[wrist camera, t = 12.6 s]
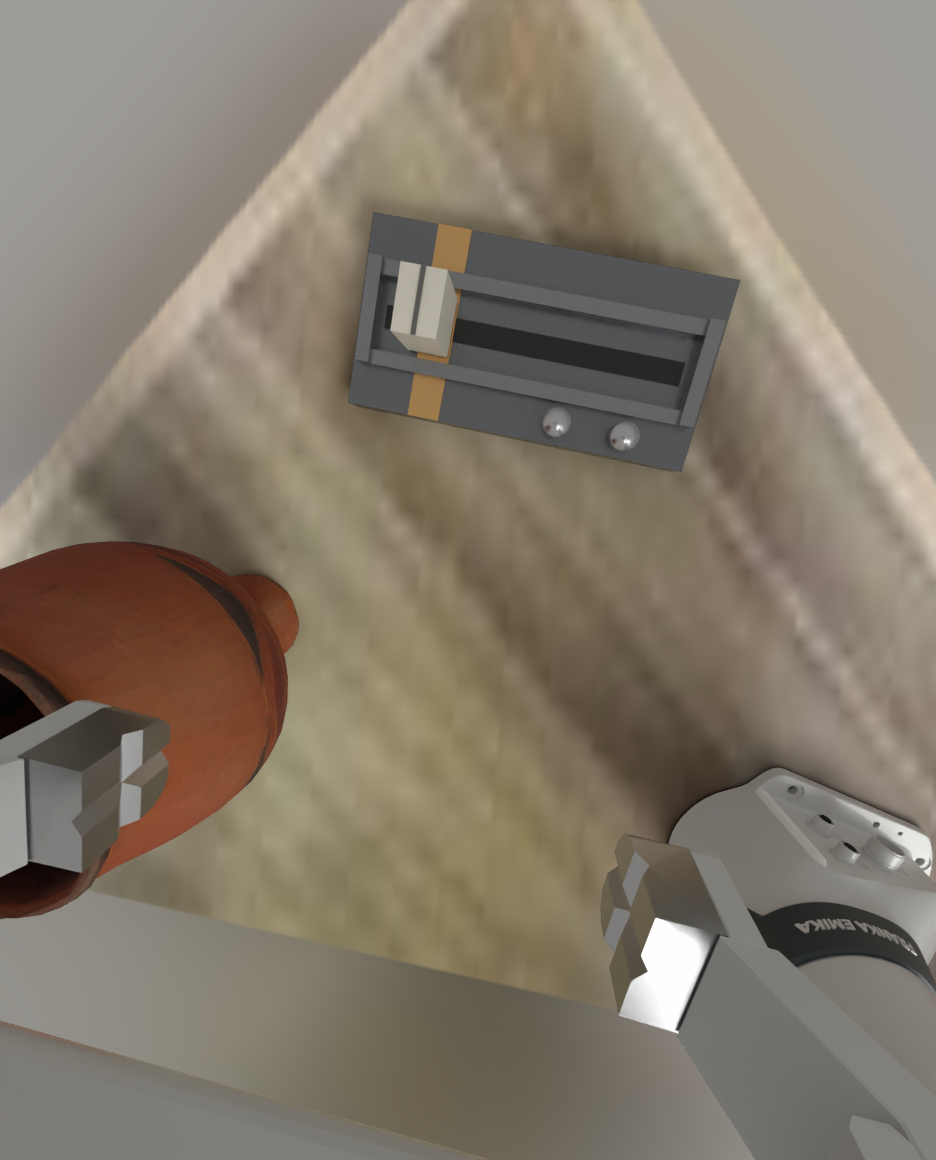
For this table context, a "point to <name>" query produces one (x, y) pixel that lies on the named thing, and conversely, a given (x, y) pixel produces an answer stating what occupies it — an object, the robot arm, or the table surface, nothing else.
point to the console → (545, 343)
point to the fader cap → (424, 309)
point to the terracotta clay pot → (145, 679)
